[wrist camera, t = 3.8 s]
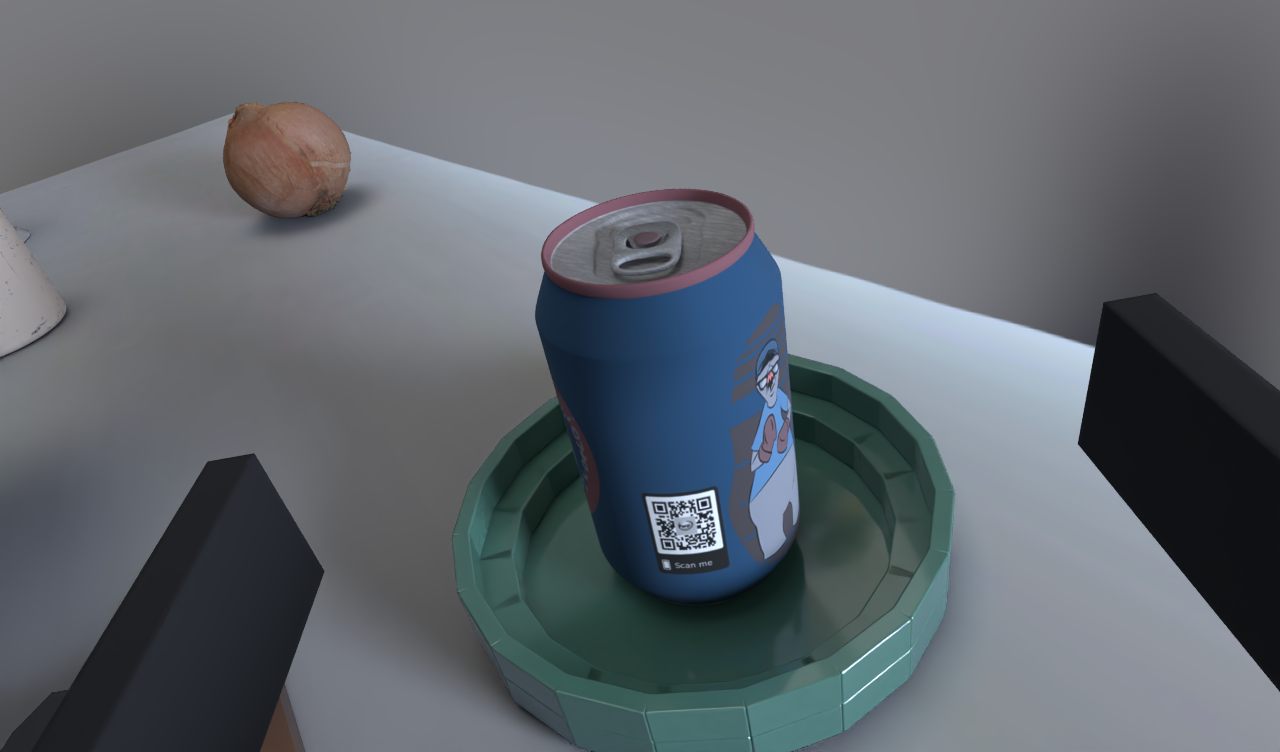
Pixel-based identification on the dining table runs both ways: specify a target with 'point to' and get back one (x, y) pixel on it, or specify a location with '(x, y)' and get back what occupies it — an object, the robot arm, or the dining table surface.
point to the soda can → (675, 389)
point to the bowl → (727, 632)
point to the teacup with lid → (23, 294)
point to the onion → (286, 159)
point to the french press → (22, 233)
